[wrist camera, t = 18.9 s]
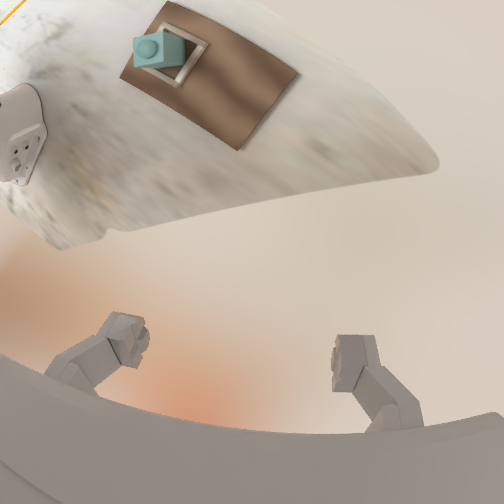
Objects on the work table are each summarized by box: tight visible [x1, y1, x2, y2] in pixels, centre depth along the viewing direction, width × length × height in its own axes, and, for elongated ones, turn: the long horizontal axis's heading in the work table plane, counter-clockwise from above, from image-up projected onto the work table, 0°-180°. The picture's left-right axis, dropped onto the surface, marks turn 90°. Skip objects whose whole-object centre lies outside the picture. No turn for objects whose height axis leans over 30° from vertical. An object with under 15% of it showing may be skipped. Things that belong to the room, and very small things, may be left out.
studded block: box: [133, 31, 186, 69], centre depth 29 cm, size 4×4×8 cm
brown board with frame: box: [120, 1, 298, 151], centre depth 34 cm, size 14×22×3 cm, turn 55°
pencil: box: [0, 0, 26, 25], centre depth 26 cm, size 1×19×1 cm, turn 102°
